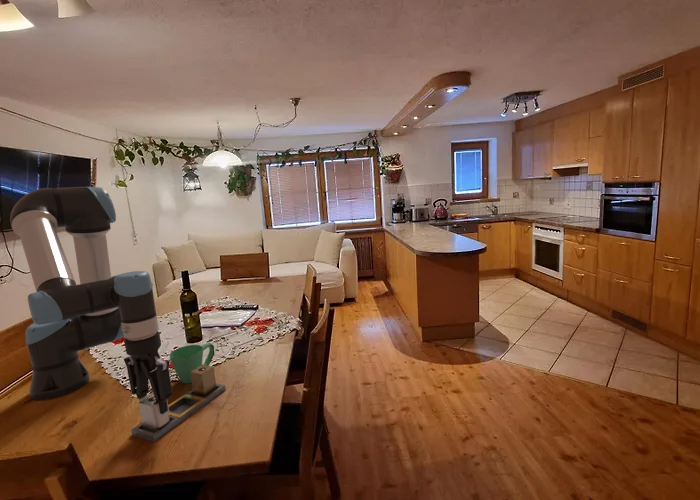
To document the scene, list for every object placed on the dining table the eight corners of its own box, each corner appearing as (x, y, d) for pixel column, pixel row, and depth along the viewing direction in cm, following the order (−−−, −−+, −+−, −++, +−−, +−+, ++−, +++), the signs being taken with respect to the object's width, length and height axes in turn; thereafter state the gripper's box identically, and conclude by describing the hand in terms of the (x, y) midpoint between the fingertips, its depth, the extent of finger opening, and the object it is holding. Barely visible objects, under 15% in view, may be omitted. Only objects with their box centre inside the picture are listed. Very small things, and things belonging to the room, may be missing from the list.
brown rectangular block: (193, 397, 104) (190, 371, 102) (205, 389, 108) (202, 364, 106) (205, 400, 102) (201, 373, 100) (217, 391, 106) (213, 366, 105)
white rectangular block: (143, 431, 89) (138, 402, 88) (159, 421, 93) (154, 392, 92) (155, 435, 87) (150, 405, 86) (171, 424, 91) (166, 395, 90)
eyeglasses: (207, 348, 140) (205, 336, 140) (238, 335, 152) (236, 324, 152) (232, 356, 131) (231, 343, 130) (263, 341, 143) (262, 329, 143)
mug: (186, 391, 108) (181, 360, 107) (167, 384, 113) (162, 354, 112) (225, 369, 120) (221, 341, 119) (206, 364, 125) (202, 337, 124)
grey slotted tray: (132, 436, 88) (131, 429, 88) (206, 386, 110) (205, 381, 110) (154, 443, 85) (153, 436, 85) (225, 390, 107) (225, 385, 106)
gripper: (103, 337, 87) (119, 424, 90) (152, 345, 79) (167, 438, 83) (132, 326, 93) (146, 407, 97) (180, 332, 86) (193, 419, 90)
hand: (156, 421), depth 90 cm, fingers closed on white rectangular block, 4 cm apart
